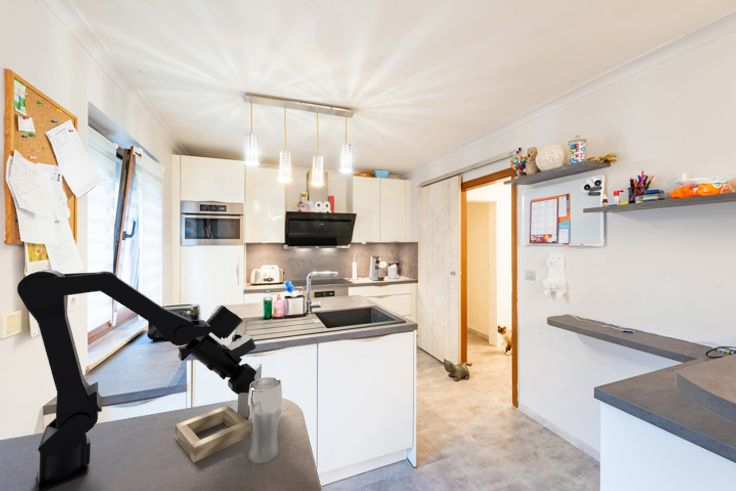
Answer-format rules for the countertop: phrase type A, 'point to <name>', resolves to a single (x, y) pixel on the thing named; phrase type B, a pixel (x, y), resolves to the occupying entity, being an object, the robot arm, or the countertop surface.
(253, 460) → the beer glass
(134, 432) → the countertop surface
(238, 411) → the skincare box
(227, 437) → the frame
